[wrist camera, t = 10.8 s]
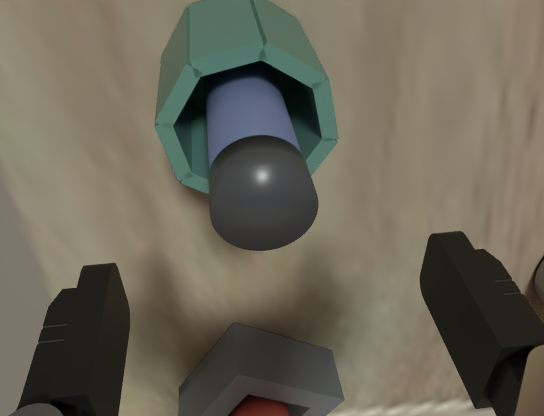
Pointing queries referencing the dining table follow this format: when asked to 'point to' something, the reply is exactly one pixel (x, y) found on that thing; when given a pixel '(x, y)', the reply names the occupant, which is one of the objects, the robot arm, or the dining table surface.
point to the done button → (260, 407)
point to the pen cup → (229, 54)
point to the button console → (261, 375)
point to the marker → (255, 161)
